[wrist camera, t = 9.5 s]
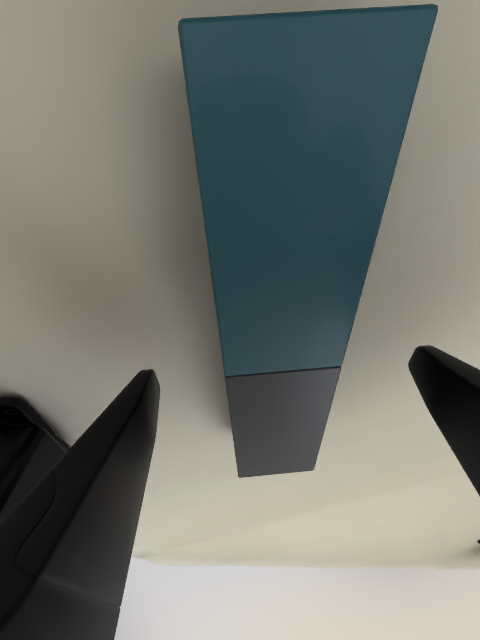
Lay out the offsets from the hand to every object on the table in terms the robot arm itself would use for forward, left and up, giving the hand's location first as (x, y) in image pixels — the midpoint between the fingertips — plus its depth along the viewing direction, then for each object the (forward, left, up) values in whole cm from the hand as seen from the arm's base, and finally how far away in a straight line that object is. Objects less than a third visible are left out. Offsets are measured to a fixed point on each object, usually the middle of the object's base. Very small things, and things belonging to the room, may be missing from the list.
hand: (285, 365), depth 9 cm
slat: (0, 0, -2) cm, 2 cm away
